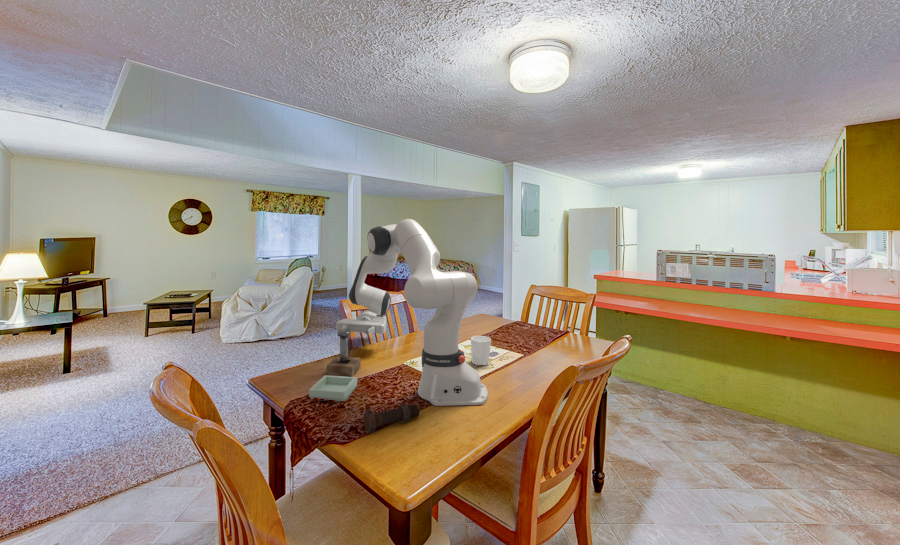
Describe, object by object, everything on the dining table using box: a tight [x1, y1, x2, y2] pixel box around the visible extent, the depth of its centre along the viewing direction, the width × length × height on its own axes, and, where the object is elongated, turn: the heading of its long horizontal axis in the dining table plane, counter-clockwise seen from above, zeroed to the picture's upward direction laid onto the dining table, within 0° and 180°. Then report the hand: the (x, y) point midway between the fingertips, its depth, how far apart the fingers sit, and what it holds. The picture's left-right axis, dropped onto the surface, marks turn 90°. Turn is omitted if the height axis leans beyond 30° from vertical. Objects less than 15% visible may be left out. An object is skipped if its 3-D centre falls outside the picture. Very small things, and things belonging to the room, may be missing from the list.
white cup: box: [470, 335, 492, 366], centre depth 141 cm, size 8×8×10 cm
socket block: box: [326, 355, 361, 377], centre depth 128 cm, size 9×9×4 cm
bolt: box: [363, 403, 421, 434], centre depth 95 cm, size 6×5×15 cm
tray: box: [308, 374, 358, 402], centre depth 112 cm, size 11×11×3 cm
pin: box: [336, 330, 351, 364], centre depth 127 cm, size 4×4×15 cm
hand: (355, 331), depth 139 cm, fingers open, 8 cm apart
